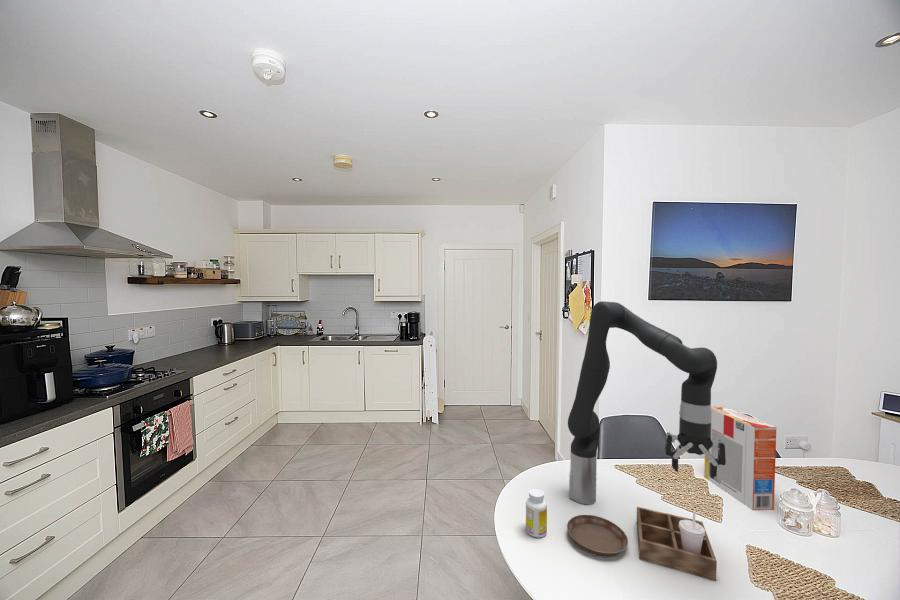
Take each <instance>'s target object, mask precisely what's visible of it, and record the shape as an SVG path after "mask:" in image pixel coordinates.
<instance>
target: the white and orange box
mask: <svg viewBox="0 0 900 600" xmlns="http://www.w3.org/2000/svg"><path fill="white" fill-rule="evenodd" d="M711 412H712V417H711V441H717V442H718V441H719V440H720V441H722V442H723V443H724V445H725V458H726V464H725V465H718V466H717V476H716V477H714V479H713V478H710V476H709V464H710V460H709V459H708V458H707V457H706V455H705V454H704V468H703V469H704V470H703V473H704V474H703V475H704V476H703V477H704V479H706V480H707V481H709V482H710V483H712V484H713V485H715V486H717V487H718V488H719V489H721V490H722V491H723V492H725V493H727V494H728V495H729V496H731V497H733V498H734V499H735V500H737V501H738V502H739V503H741V504H742V505H744V506H746V507H747V508H748V509H750V510H751V511H771V510H772V511H774V510H775V491H776V490H775V487H776V485H775V484H776V458H777V457H776V456H777V455H776V453H777V450H776V449H777V426H774V425H772V424H769V423H767V422H765V421H762V420H760V419H757V418H755V417H752V416H750V415H746V414H744V413H741V412H739V411H736V410H734V409H731V408H729V407H727V406H723V405H722V406H711ZM708 451H709V452H710V453H711V455H712V456H713V457H714V458H715V459H716V458H718V450H717V449H716V448H715V446H712V447H711V448H710V449H709V450H708Z"/></svg>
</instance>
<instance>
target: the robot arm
mask: <svg viewBox="0 0 900 600" xmlns="http://www.w3.org/2000/svg"><path fill="white" fill-rule="evenodd" d="M611 328H614V329H615V328H617V329H619V330H623V331H626V332H628V333H630V334H632V335H633V336H635V337H636V338H637V339H638V341H640V343H641V344H643V345H644V346H645V347H647V348H648V349H650V350H652V351H653V352H655V353H657V354H659V355H660V356H663V357H664V358H665V359H667V361H669V362H670V364H672V365H673V366H675V367H676V368H677V369H678V370H680V371H683V372H684V373H687V374H688V377H687V379H686V380H684V381H683V382H682V383H681V388H680V389H681V392H680V397H681V398H680V405H679V412H678V414H679V420H678V421H679V424H678V425H679V426H678V429H679V431H678V434H677V435H676V434H673V433H671V432H667V433H666V434H665V444H664V445H665V446H664V452H665V454H666V456H670V457H671V467H672V470H674V472H677V473H678V472H679V458H680V457H681V456H683V455H684V454H685V453H686V452H687V454H696V455H698V456H702V455H704V456H705V455H706V457H707V458H708V459H709V460H710V464H709V476H710V478H713V479H714V477H716V476H717V466H718V465H725V464H726V458H725V445H724V443H723V442H722V441H720V440H719V441H718V442H717V441H711V417H712V412H711V407H712V387H713V386H714V385H713V384H714V381H715V377H716V375H717V369H718V360H717V356H716V355H715V353H714V351H712V350H711V349H710V348H707V347H702V346H701V347H693V348H691V347H689V346H687V345H684V343H683V341H682V340H681V338H680V337H678V336H676V335H674V334H672V333H670V332H668V331H666V330H665V329H662V328H660V327H658V326H656V325H654V324H652V323H651V322H648V321H646V320H645V319H643V318H641V317H640V316H638V315H637V314H635V313H634V312H633V311H632V310H630V309H629V308H627V307H626V306H625V305H623V304H621V303H620V302H616V301H615V302H614V301H598V302H596V303H595V304H594V306H593V307H592V309H591V311H590V317H589V327H588V334H587V341H586V344H585V345H586V346H585V351H584V356H583V360H582V363H581V369H580V372H579V373H580V374H579V378H578V383H577V388H576V392H575V397H574V400H573V402H572V407H571V409H570V412H569V414H568V418H567V427H568V430H569V432H570V434H571V435H572V436H573V437H574V438H573V439H572V441H571V443H570V464H569V465H570V468H569V469H570V470H569V481H568V482H569V488H568V489H569V490H568V495H569V497H568V498H569V500H573V501H574V502H576V503H578V504H582V505H592V504H595V503H596V501H597V464H598V463H597V459H598V458H597V455H598V453H597V452H598V448H599V445H600V433H601V427H600V426H601V423H600V419H599V416H598V414H597V413H596V412H595V411H594V409H595V405H596V403H597V402H598V401H597V400H598V399H599V397H600V396H601V394H602V392H603V390H604V388H605V386H606V384H607V381H608V377H609V372H610V368H611V363H610V362H611V360H610V357H609V353H608V349H607V338H608V334H609V330H610V329H611ZM676 440H677V441H678V443H679V444H678V445H677V447H676V448H675V449H674V450H672V443H675V441H676ZM712 446H715V448H716V449H717V450H718V458H716V459H715V458H714V457H713V456H712V455H711V453H710V452H709V451H708V450H709V449H710V448H711V447H712Z"/></svg>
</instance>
